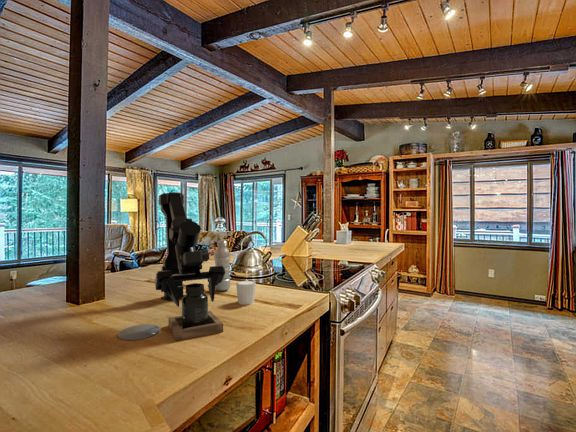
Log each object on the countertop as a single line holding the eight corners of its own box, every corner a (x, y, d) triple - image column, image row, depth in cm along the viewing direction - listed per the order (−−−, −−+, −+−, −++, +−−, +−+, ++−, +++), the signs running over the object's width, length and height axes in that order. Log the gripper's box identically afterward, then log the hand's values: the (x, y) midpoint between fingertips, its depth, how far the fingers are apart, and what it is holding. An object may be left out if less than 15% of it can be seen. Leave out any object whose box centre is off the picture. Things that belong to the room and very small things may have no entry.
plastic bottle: (233, 289, 129) (233, 240, 129) (222, 293, 123) (222, 242, 123) (222, 287, 132) (222, 240, 132) (210, 291, 127) (210, 241, 126)
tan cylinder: (252, 305, 107) (252, 285, 107) (233, 304, 109) (233, 284, 109) (258, 300, 114) (258, 280, 114) (240, 299, 116) (240, 280, 115)
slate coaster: (109, 335, 82) (109, 334, 82) (143, 323, 90) (143, 322, 90) (135, 343, 77) (135, 341, 77) (167, 329, 86) (167, 328, 86)
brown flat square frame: (168, 325, 89) (168, 317, 89) (210, 318, 95) (210, 311, 95) (176, 340, 78) (176, 332, 78) (223, 331, 84) (223, 323, 84)
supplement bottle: (178, 327, 87) (178, 284, 87) (202, 322, 91) (202, 281, 91) (186, 335, 82) (186, 289, 82) (211, 329, 86) (211, 285, 86)
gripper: (156, 241, 85) (162, 291, 76) (223, 238, 94) (236, 282, 85) (152, 266, 92) (158, 314, 83) (215, 261, 101) (226, 304, 92)
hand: (196, 303), depth 85 cm, fingers open, 9 cm apart
